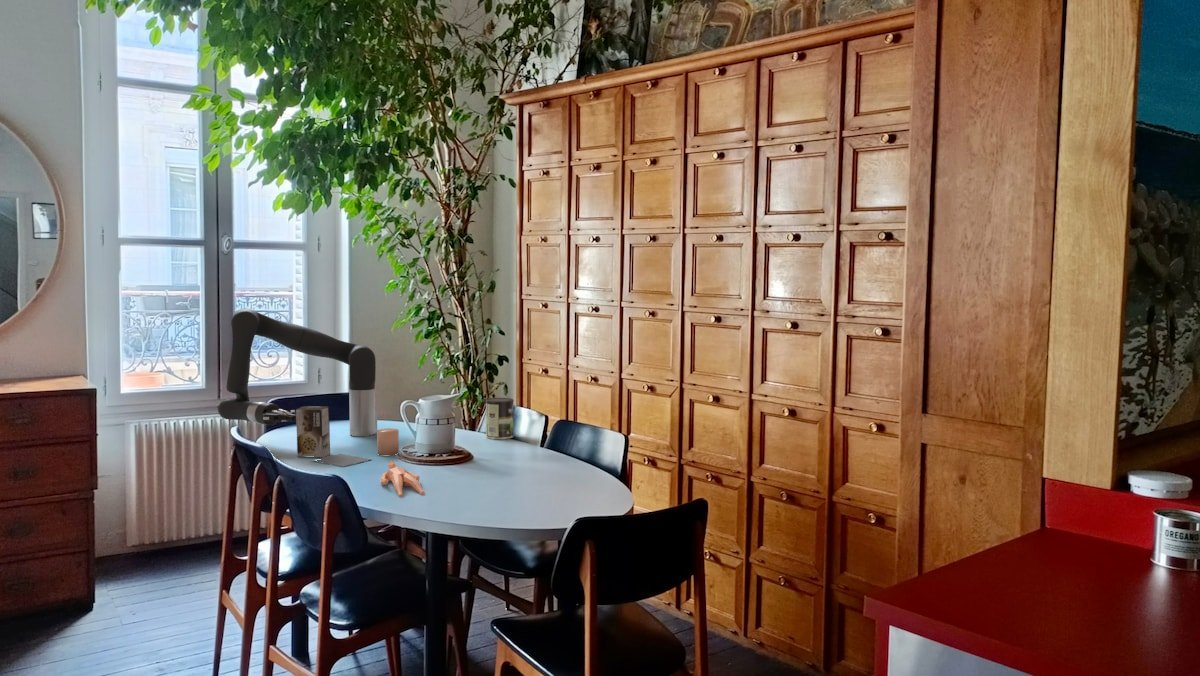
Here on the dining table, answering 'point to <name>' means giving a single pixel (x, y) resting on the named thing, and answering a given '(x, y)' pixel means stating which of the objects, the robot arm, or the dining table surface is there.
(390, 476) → the male figurine
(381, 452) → the peach rounded block
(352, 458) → the mat
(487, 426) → the coffee can
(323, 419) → the coffee box
